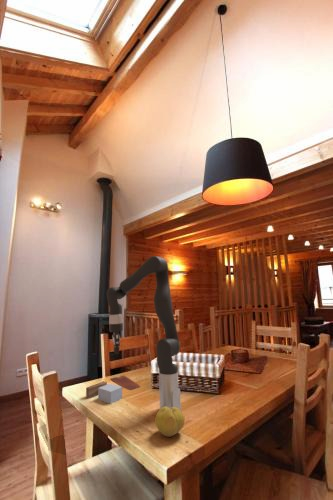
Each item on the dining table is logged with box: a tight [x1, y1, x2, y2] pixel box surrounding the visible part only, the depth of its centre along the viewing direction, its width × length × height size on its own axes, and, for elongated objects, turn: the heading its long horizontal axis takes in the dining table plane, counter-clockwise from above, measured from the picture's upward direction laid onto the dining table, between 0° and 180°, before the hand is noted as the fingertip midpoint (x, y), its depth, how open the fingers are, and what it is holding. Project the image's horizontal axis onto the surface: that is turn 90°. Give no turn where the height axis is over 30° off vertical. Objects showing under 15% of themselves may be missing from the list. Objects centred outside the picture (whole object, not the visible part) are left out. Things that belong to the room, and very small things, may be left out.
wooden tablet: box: [110, 375, 141, 391], centre depth 162 cm, size 27×10×2 cm, turn 35°
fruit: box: [154, 406, 185, 438], centre depth 103 cm, size 11×12×10 cm
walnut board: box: [85, 381, 108, 400], centre depth 145 cm, size 3×12×5 cm, turn 143°
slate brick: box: [97, 383, 123, 405], centre depth 138 cm, size 10×8×6 cm
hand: (116, 352), depth 143 cm, fingers open, 8 cm apart
